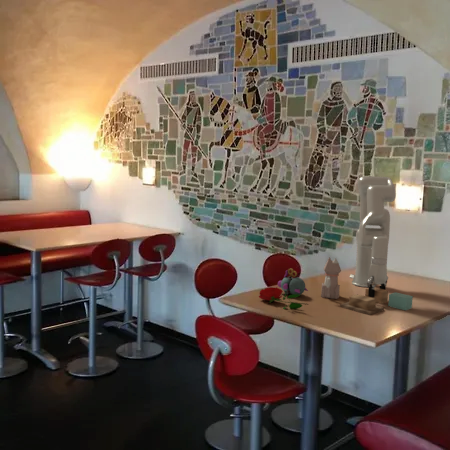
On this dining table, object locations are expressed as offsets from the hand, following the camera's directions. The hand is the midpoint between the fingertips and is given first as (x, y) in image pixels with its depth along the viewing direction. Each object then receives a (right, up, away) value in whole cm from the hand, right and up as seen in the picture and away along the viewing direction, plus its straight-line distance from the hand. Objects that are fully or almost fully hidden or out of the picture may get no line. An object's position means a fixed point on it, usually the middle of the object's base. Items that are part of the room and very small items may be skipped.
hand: (376, 295), depth 274 cm
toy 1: (-41, -1, +8) cm, 42 cm away
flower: (-47, -4, -13) cm, 49 cm away
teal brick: (+9, -5, -8) cm, 13 cm away
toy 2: (-23, -2, +5) cm, 23 cm away
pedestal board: (-10, -5, -13) cm, 17 cm away
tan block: (0, -3, +1) cm, 3 cm away
